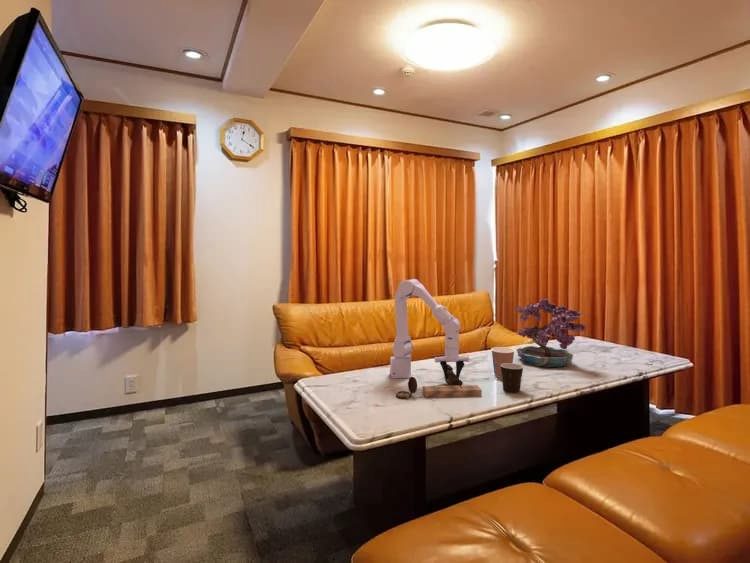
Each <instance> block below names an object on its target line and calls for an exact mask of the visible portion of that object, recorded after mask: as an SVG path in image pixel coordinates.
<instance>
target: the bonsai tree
mask: <svg viewBox="0 0 750 563" xmlns="http://www.w3.org/2000/svg"><path fill="white" fill-rule="evenodd" d="M540 310H541V311H543V312H544V314H551V315H552V316H553V317H551V320H549V321H550V322H549V323H547V324H545V325H543V326H539V325H537V324H534V325H532V327H524V328H522V330H517V332H516V333H517V335H518V336H522V338H525V337H526V338H527V339H530V340H531V339H532V342H534V343H535V344H536V345H538V346H533V345H529V346H525V347H523V348H521V347H518V348H517V349H516V352H517V356H518V357H519V358H520V360H522V362H524V363H525V364H528V365H532V366H536V367H544V368H545V367H546V368H560V367H565V366H566V365H567V364H568V363H570V362H572V360H573V357H574V354H572V353H571V352H569V350H567V348H568V346H569V347H570V345H572V344H573V343H574V341H575V340H576V337H575V336H574V334H569V333H568V332H567V331H580V332H581V333H582V332H583V331H585V330H586V325H585V324H584V323H573V322H574V321H575V322H577V320H578V319H579V317H580V315H582V312H581V311H577V310H576V309H569V310H567V307H566V306H565V305H559V306H557V307H556V304H555V303H553V302H550V301H549V299H548V298H542V299H539V302H537V303H534V304H533V303H532V302H531V303H529V304H526V305H525V306H523V307H522V306H517V307H515V311H516V312H518V313H519V314H521V313H522V314H521V315H520V316H519V318H520V319H519V320H520V321H523V322H526V321H527V320H529V319H530V318H532V317H534V318H535V320H536V321H537V322H538V323H540V321H541V320H542V315H541V314H542V313H541V312H540ZM551 338H555V339H556V342H558V343H559V344H558V346H559V348H554V347H551V346H547V345H548V343H549V340H552V339H551Z"/></svg>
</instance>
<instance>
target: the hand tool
mask: <svg viewBox="0 0 750 563" xmlns="http://www.w3.org/2000/svg"><path fill="white" fill-rule="evenodd" d="M447 365H448V368H447V379H446V380H447V381H448V385H449V386H454V385H464V384H463V381H462V380H461V379H460V378H459V379H458V376H456V373H454V370H453V369H454V368H453V367H452V366H451V365H450V364H448V363H447Z"/></svg>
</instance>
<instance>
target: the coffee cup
mask: <svg viewBox="0 0 750 563" xmlns="http://www.w3.org/2000/svg"><path fill="white" fill-rule="evenodd" d="M490 351H491V357H492V364H493V374H494V376H495V377H496V378H501V379H502V373H501V364H504V363H514V362H513V361H514V356H515V352H516V349H514V348H512V347H506V346H495V347H491V349H490Z"/></svg>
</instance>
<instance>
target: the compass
mask: <svg viewBox="0 0 750 563" xmlns="http://www.w3.org/2000/svg"><path fill="white" fill-rule="evenodd" d="M407 386H408V387H407V388H408V391H407V390H401V391H398V392H396V393H395V397H396V398H398V399H401V400H403V399H404V400H407V399H411V398H412V397H413V395H412V394H416V392H417V389H418V381H417V379H416V377H415V376H413V377H410V378H409V379H408V382H407Z"/></svg>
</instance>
